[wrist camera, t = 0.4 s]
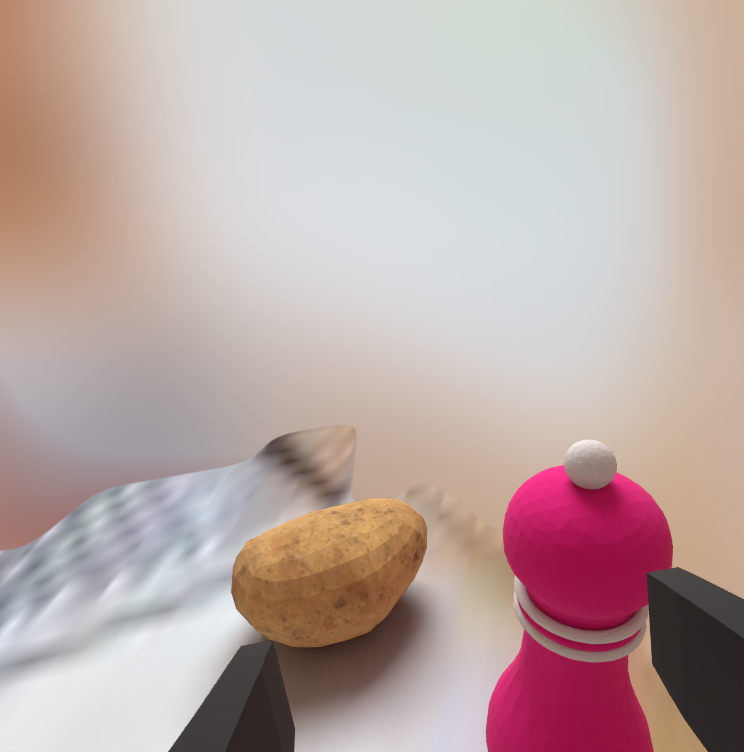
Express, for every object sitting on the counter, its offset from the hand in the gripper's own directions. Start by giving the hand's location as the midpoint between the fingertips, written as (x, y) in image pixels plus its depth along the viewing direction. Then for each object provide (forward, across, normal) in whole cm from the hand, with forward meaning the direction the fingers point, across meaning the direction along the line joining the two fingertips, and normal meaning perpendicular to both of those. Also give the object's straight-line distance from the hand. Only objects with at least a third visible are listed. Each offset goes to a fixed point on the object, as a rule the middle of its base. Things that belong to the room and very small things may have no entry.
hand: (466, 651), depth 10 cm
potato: (+25, +6, +17) cm, 31 cm away
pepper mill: (+12, -5, +20) cm, 24 cm away
